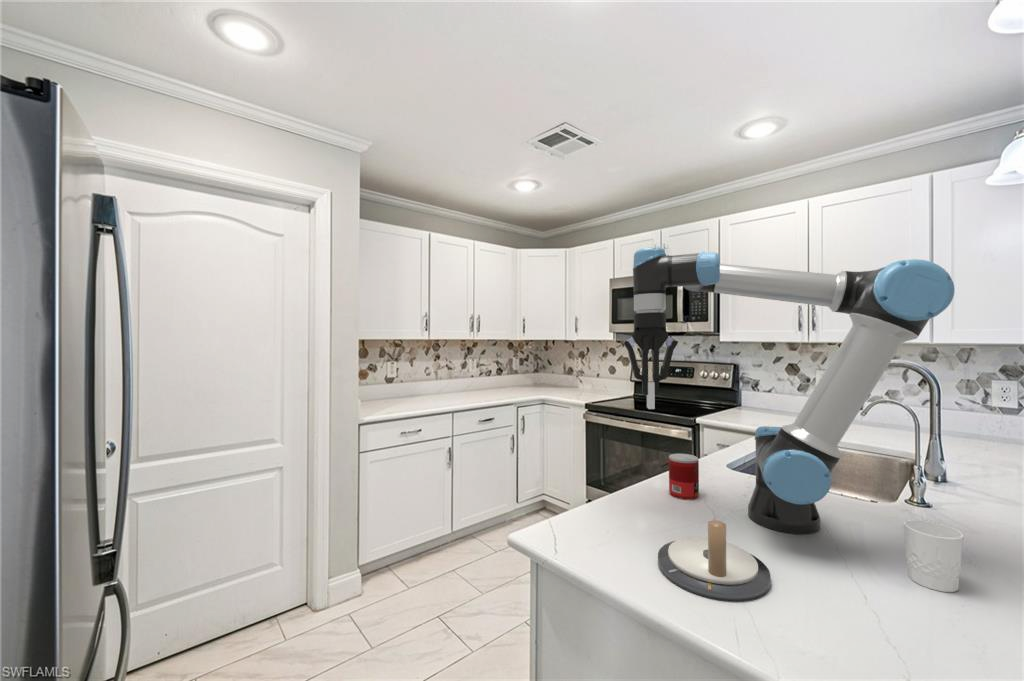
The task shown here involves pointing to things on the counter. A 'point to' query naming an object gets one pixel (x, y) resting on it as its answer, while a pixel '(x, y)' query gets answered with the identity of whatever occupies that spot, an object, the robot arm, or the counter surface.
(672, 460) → the canned food
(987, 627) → the counter surface
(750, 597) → the dial base
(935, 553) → the white cup
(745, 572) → the dial
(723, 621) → the counter surface
